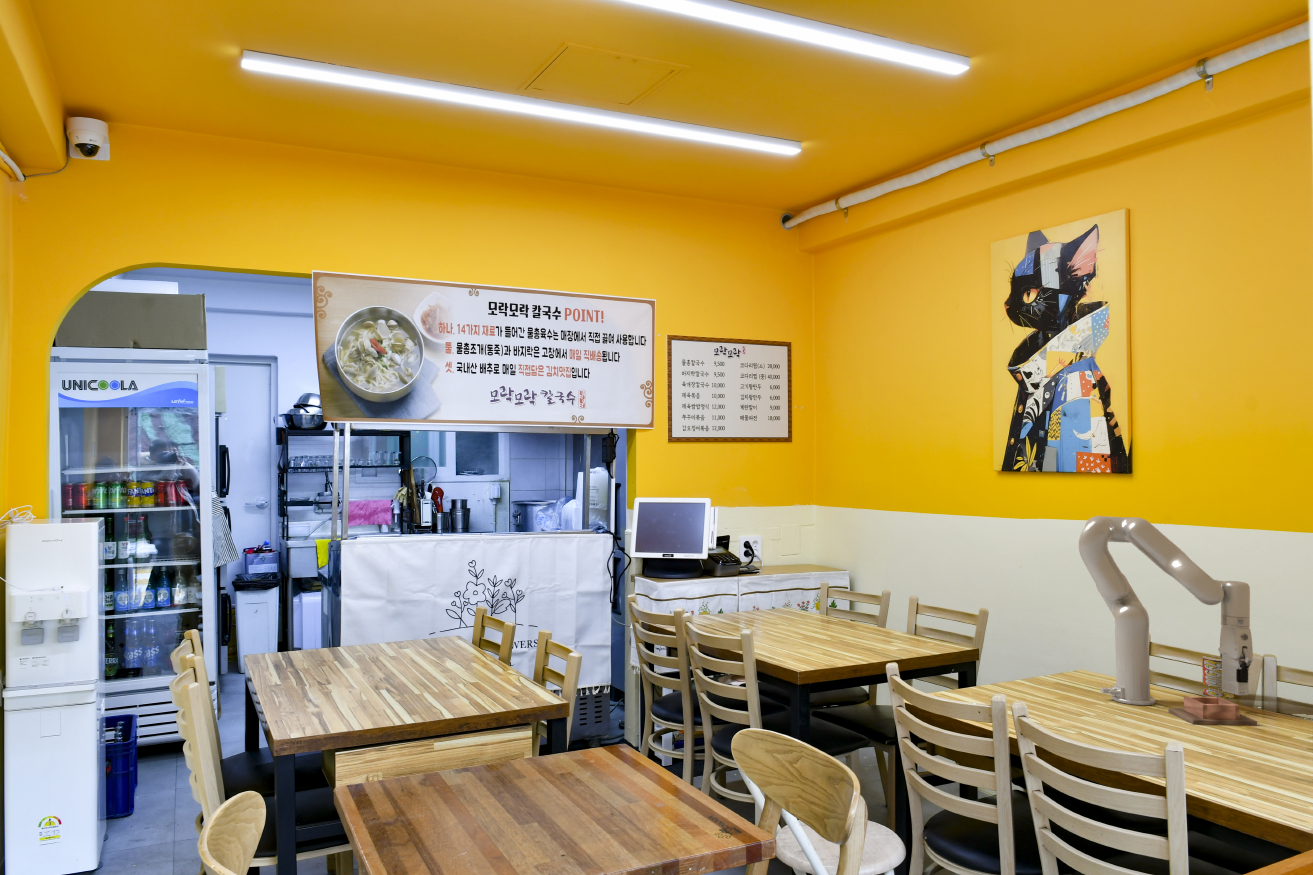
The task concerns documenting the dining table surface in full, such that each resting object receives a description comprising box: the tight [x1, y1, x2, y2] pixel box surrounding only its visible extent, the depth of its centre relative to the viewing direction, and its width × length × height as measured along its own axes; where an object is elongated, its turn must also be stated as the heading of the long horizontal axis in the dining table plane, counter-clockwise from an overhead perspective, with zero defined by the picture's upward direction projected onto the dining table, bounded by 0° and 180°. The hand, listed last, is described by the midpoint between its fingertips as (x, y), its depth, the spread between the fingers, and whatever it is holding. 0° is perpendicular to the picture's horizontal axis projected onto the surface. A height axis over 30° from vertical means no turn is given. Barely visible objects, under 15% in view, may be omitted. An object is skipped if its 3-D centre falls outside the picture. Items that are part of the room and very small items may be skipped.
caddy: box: [1167, 696, 1258, 726], centre depth 269 cm, size 18×14×5 cm
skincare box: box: [1222, 653, 1249, 696], centre depth 280 cm, size 6×4×12 cm
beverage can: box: [1201, 655, 1230, 699], centre depth 299 cm, size 9×9×12 cm
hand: (1234, 678), depth 280 cm, fingers closed on skincare box, 7 cm apart
